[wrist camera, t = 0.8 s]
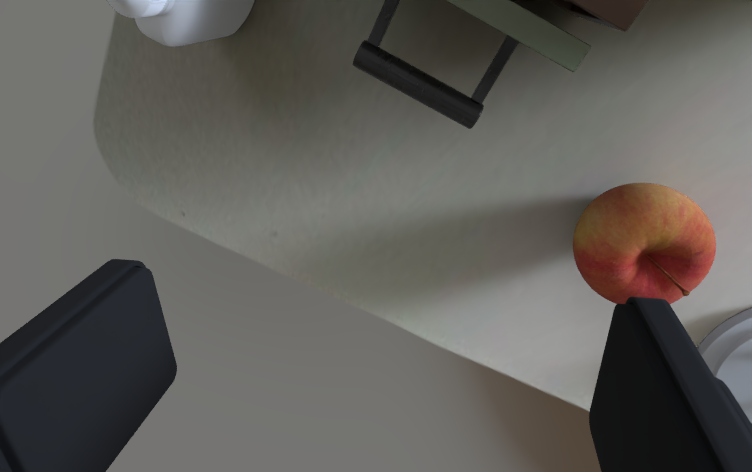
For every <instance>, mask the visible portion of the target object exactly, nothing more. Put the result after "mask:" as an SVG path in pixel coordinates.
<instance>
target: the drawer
mask: <svg viewBox="0 0 752 472" xmlns="http://www.w3.org/2000/svg"><path fill="white" fill-rule="evenodd" d="M446 1H448V2H449V3H451V4H453V5H455V6H457V7H458V8H460V9H462V10H464V11H465V12H467V13H469V14H471V15H472V16H474V17H476V18H478V19H480V20H481V21H483V22H485V23H487V24H488V25H490V26H492V27H494V28H496V29H497V30H499V31H501V32H503V33H504V34H506V35H507V37H506V38H505V40H504V42H503V43H502V45H501V47H500V48H499V50H498V52H497V54H496V55H495V57H494V59H493V60H492V62H491V64H490V65H489V67H488V69H487V71H486V72H485V74H484V76H483V77H482V79H481V81H480V83H479V84H478V86H477V88H476V89H475V91H474V93H473V94H472V97H471V98H470V97H468V96H466V95H465V94H463V93H461V92H459V91H457V90H456V89H454V88H452V87H450V86H448V85H446V84H445V83H443V82H441V81H439V80H437V79H436V78H434V77H432V76H430V75H428V74H427V73H425V72H423V71H421V70H419V69H417V68H416V67H414V66H412V65H410V64H408V63H407V62H405V61H403V60H401V59H399V58H397V57H396V56H394V55H392V54H390V53H388V52H387V51H385V50H383V49H381V48H379V47H378V46H380V43H381V41H382V39H383V37H384V35H385V33H386V30H387V28H388V26H389V24H390V22H391V20H392V17H393V15H394V13H395V11H396V9H397V7H398V4H399V2H400V0H385V3H384V5H383V7H382V9H381V12H380V14H379V16H378V18H377V21H376V23H375V25H374V27H373V30H372V32H371V34H370V36H369V38H368V41H367V40H364V41H363V42H362V44H361V45H360V47H359V49H358V51H357V53H356V56H355V58H354V61H353V66H355V67H357V68H358V69H360V70H362V71H364V72H366V73H368V74H369V75H371V76H373V77H375V78H377V79H379V80H380V81H382V82H384V83H386V84H388V85H390V86H391V87H393V88H395V89H397V90H399V91H401V92H402V93H404V94H406V95H408V96H410V97H412V98H413V99H415V100H417V101H419V102H421V103H423V104H424V105H426V106H428V107H430V108H432V109H434V110H435V111H437V112H439V113H441V114H443V115H445V116H446V117H448V118H450V119H452V120H454V121H456V122H457V123H459V124H461V125H463V126H465V127H467V128H468V129H471V128H472V127H473V126H474V125H475V123H476V122H477V120H478V118H479V117H480V115H481V113H482V110H483V107H484V105H483V104H482V102H483V101H484V99H485V97H486V96H487V94H488V92H489V91H490V89H491V87H492V86H493V84H494V82H495V81H496V79H497V77H498V76H499V74H500V72H501V71H502V69H503V67H504V66H505V64H506V63H507V61H508V59H509V58H510V56H511V54H512V53H513V51H514V49H515V48H516V46H517V44H518V43H519V42H520V43H522V44H524V45H526V46H527V47H529V48H531V49H533V50H535V51H536V52H538V53H540V54H542V55H543V56H545V57H547V58H549V59H550V60H552V61H554V62H556V63H558V64H559V65H561V66H563V67H565V68H566V69H568V70H570V71H572V72H575V70H576V69H577V67H578V66H579V64H580V63H581V61H582V60H583V58H584V57H585V55H586V54H587V52H588V51H589V50H590V48H591V46H590V45H588V44H587V43H585V42H583V41H581V40H580V39H578V38H576V37H574V36H572V35H571V34H569V33H567V32H565V31H564V30H562V29H560V28H558V27H557V26H555V25H553V24H551V23H550V22H548V21H546V20H544V19H543V18H541V17H539V16H537V15H536V14H534V13H532V12H530V11H529V10H527V9H525V8H523V7H522V6H520V5H518V4H516V3H515V2H513V1H511V0H446ZM564 1H567V2H570V1H568V0H564Z"/></svg>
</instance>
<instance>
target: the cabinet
mask: <svg viewBox="0 0 752 472" xmlns="http://www.w3.org/2000/svg"><path fill="white" fill-rule="evenodd" d="M549 1H551V2H553V3H554V4H556V5H558V6H560V7H561V8H563V9H565V10H567V11H568V12H570V13H572V14H574V15H575V16H577V17H580V18H583V19H586V20H589V21H593V22H596V23H599V24H602V25H605V26H608V27H612V28H615V29H618V30H621V31H624V32H626V31H627V30H628V28H629V27H630V25H631V24H632V23H633V21H634V20H635V18H636V17H637V16H638V14H639V13H640V11H641V10H642V8H643V7H644V6H645V4H646V3H647V1H648V0H568V1H570V2H567V1H564V0H549Z"/></svg>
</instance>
